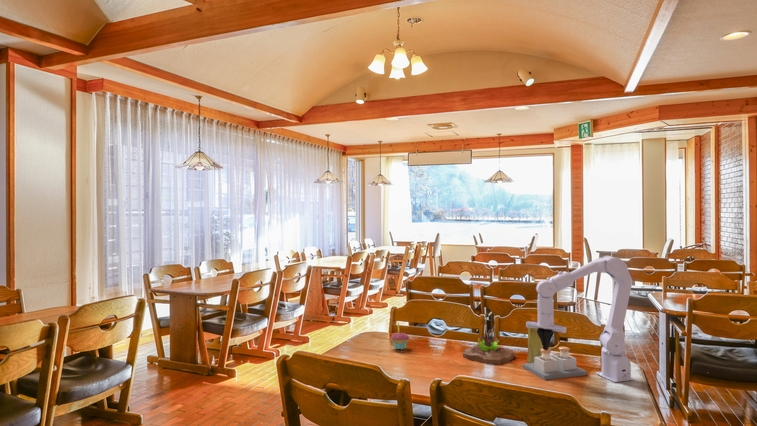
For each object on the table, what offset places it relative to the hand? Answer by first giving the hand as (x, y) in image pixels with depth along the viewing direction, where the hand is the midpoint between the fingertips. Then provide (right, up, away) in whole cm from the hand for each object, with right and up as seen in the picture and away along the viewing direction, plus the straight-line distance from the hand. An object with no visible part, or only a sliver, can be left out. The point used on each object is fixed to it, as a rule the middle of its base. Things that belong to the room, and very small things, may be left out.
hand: (545, 349), depth 173 cm
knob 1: (0, -5, 0) cm, 5 cm away
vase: (+1, -9, +14) cm, 16 cm away
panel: (+4, -9, +2) cm, 10 cm away
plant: (-16, -10, +21) cm, 29 cm away
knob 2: (+8, -5, +2) cm, 9 cm away
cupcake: (-53, -10, +33) cm, 64 cm away
